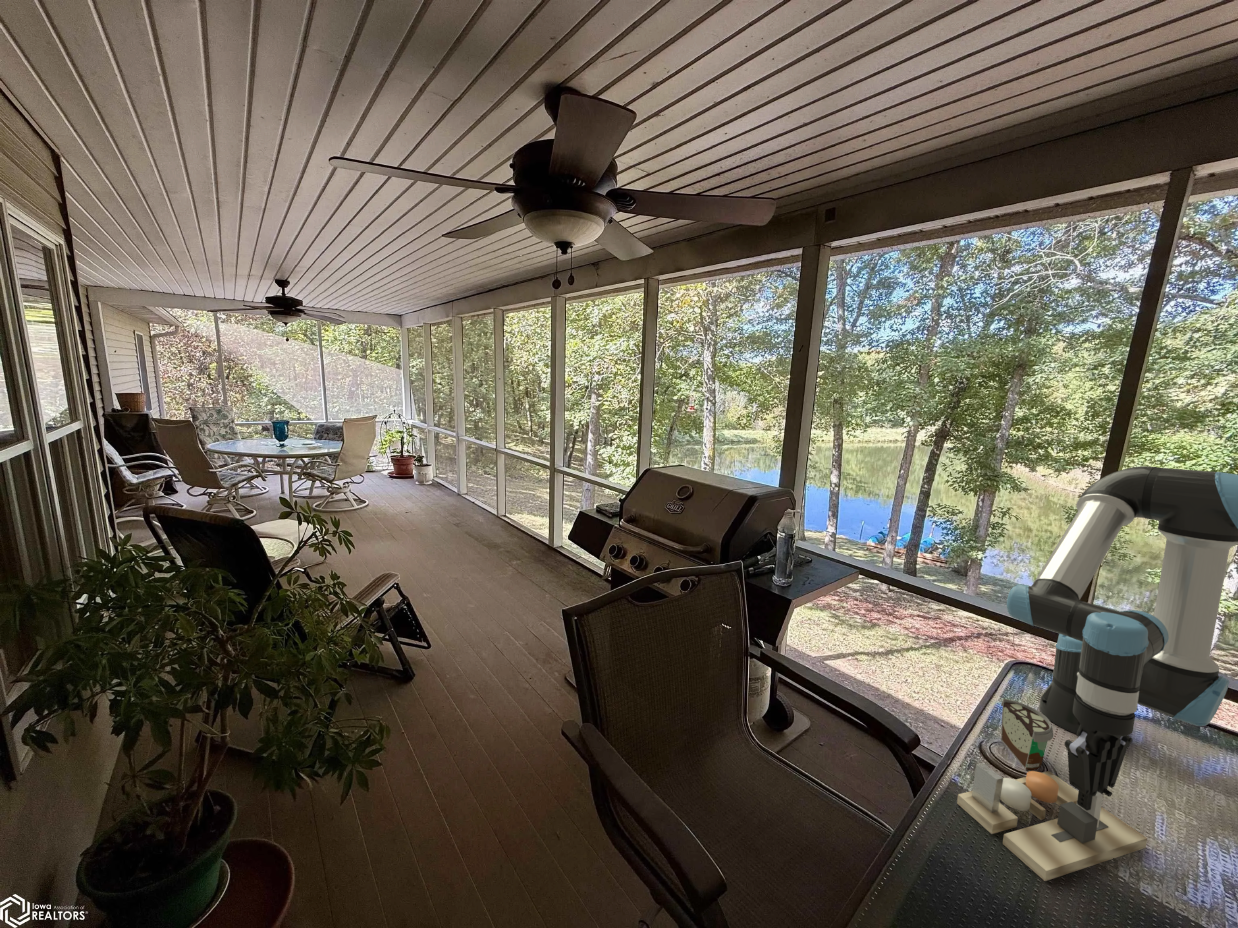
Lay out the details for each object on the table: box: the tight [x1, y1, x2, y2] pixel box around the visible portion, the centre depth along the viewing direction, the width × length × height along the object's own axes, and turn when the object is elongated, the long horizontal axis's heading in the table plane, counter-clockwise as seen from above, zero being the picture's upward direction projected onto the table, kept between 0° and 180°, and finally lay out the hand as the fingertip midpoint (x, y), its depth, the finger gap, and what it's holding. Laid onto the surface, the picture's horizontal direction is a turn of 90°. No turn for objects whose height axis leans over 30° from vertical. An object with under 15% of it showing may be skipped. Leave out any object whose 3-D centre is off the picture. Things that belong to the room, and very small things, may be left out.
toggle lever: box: [971, 762, 1004, 813], centre depth 93 cm, size 2×4×7 cm, turn 14°
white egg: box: [1000, 777, 1032, 812], centre depth 94 cm, size 5×5×3 cm
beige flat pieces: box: [956, 770, 1148, 882], centre depth 91 cm, size 24×16×2 cm, turn 104°
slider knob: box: [1057, 801, 1098, 843], centre depth 87 cm, size 3×4×4 cm
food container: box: [1000, 698, 1054, 771], centre depth 107 cm, size 12×6×10 cm, turn 168°
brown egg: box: [1025, 770, 1059, 804], centre depth 95 cm, size 5×5×3 cm
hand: (1086, 821), depth 87 cm, fingers closed
